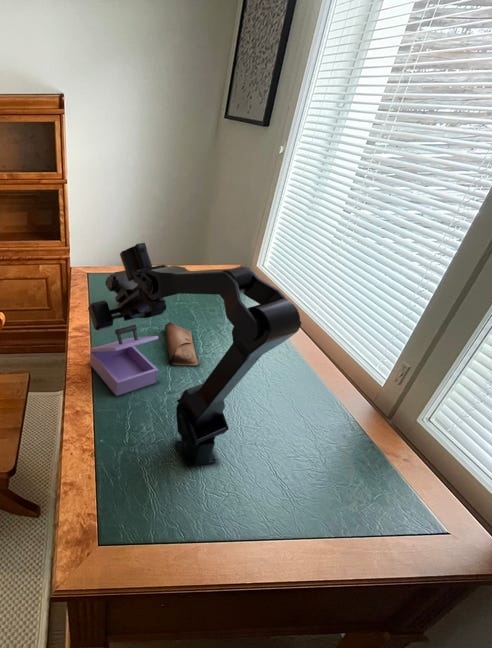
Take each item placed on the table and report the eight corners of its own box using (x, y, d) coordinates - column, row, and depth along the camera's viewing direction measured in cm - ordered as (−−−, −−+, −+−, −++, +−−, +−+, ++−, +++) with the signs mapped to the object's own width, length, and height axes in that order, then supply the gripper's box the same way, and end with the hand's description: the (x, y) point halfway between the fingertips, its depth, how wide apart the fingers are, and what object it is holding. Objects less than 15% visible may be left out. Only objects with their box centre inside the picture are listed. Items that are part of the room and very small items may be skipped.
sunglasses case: (200, 365, 105) (191, 347, 102) (176, 374, 108) (167, 356, 104) (191, 330, 120) (183, 314, 117) (170, 339, 122) (161, 323, 119)
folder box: (156, 382, 100) (158, 369, 97) (116, 396, 95) (117, 382, 92) (127, 353, 110) (128, 340, 107) (89, 364, 105) (90, 351, 103)
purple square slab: (158, 338, 93) (154, 320, 93) (115, 350, 89) (111, 331, 88) (129, 341, 107) (125, 325, 107) (90, 351, 103) (86, 334, 102)
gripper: (164, 258, 88) (134, 283, 103) (92, 271, 81) (71, 296, 96) (179, 303, 88) (147, 322, 102) (108, 321, 80) (85, 338, 95)
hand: (114, 319), depth 99 cm, fingers open, 9 cm apart
